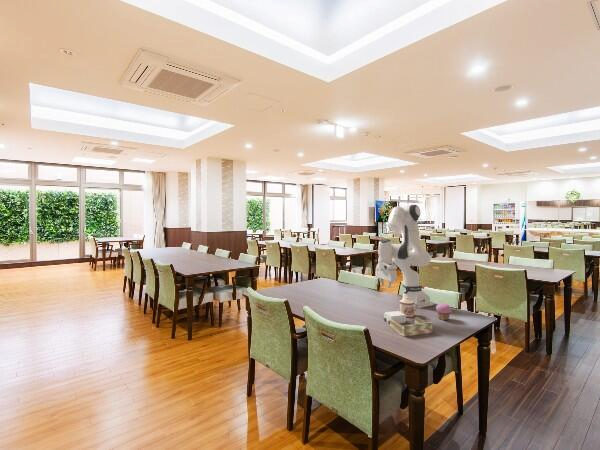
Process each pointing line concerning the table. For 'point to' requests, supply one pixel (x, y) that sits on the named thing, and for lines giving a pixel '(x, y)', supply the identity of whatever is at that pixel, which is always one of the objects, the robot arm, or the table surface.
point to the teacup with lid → (407, 307)
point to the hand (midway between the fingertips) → (385, 286)
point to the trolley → (395, 317)
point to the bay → (412, 327)
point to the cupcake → (443, 311)
